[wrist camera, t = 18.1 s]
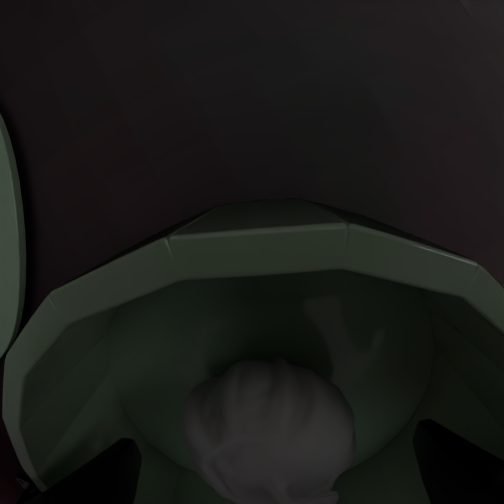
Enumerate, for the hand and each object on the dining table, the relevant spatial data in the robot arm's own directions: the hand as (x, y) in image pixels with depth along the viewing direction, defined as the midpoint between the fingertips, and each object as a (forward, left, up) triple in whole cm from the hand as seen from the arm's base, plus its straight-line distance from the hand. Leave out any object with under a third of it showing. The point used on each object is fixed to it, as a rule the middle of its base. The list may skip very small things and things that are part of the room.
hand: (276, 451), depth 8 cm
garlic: (0, 0, -3) cm, 3 cm away
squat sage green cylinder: (0, 0, -4) cm, 4 cm away
